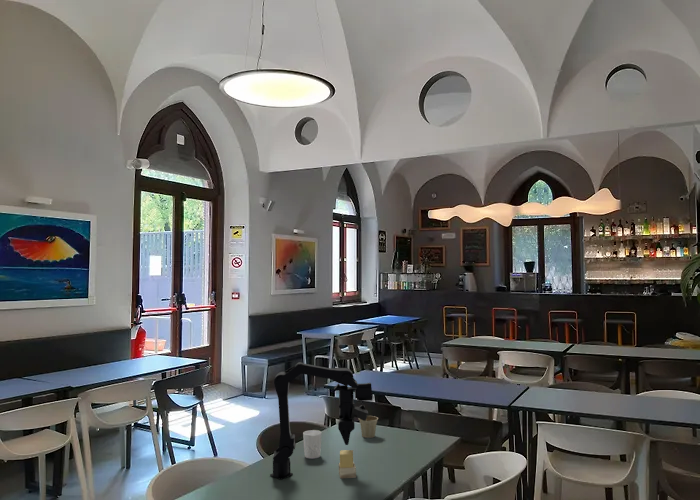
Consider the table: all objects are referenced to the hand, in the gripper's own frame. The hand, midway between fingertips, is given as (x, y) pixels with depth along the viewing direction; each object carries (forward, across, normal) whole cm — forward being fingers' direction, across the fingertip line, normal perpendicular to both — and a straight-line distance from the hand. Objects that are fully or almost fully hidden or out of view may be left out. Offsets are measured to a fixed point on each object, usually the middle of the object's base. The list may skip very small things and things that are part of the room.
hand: (347, 441), depth 218 cm
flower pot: (+13, +48, -10) cm, 51 cm away
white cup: (+13, +21, +15) cm, 29 cm away
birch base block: (+13, -2, 0) cm, 13 cm away
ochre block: (+9, -2, 0) cm, 9 cm away
